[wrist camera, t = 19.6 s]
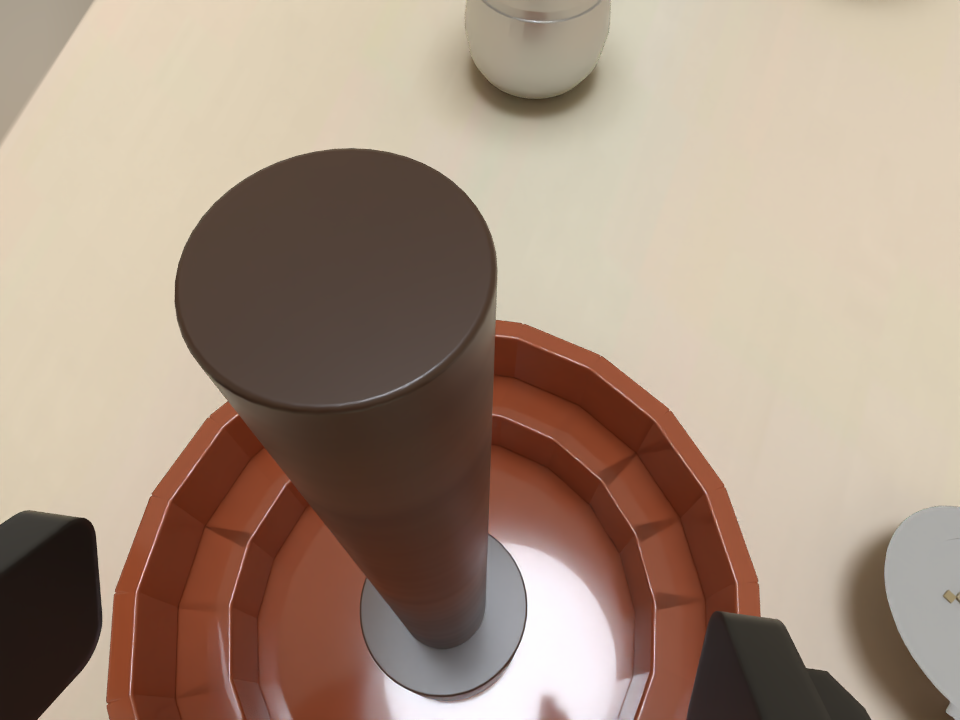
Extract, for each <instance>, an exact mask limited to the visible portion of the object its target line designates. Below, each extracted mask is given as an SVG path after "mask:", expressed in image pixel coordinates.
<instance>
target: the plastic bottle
mask: <svg viewBox="0 0 960 720" xmlns="http://www.w3.org/2000/svg"><path fill="white" fill-rule="evenodd" d="M610 10H611V0H466V9H465V29H466V34H467V39H468V44H469V49H470V53H471V56H472V59H473V62H474V63H475V65H476V66H477V68H478V69H479V71H480V72H481V73H482V74H483V75H484V76H485V78H486V79H487V80H488V81H489V82H490V83H491V84H492V85H494V86H495V87H497V88H498V89H500V90H501V91H503V92H506V93H508V94H510V95H513V96H517V97H521V98H529V99H544V98H550V97H555V96H558V95H561V94H563V93H566V92H567V91H569V90H571V89H573V88H574V87H575V86H576V85H578V84H579V83H580V82H581V81H582V80H583V79H585V78H586V77H587V76H588V75H589V74H590V73H591V72H592V70H593V69H594V68H595V66H596V64H597V62H598V60H599V57H600V54H601V52H602V49H603V47H604V44H605V41H606V39H607V36H608V33H609V26H610Z"/></svg>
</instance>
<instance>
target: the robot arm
mask: <svg viewBox="0 0 960 720" xmlns="http://www.w3.org/2000/svg"><path fill="white" fill-rule="evenodd" d="M101 628H102V606H101V594H100V581H99V569H98V556H97V544H96V534H95V530H94V527H93V525H92V523H91V522H90V521H89V520H87V519H85V518H79V517H72V516H65V515H58V514H51V513H44V512H37V511H30V510H28V511H23V512H20V513H18V514H16V515H14V516H13V517H11V518H10V519H8V520H7V521H5V522H4V523H2V524H1V525H0V720H37V719H38V718H39V717H40V716H41V715H42V714H43V713H44V711H45V710H46V709H47V708H48V707H49V706H50V705H51V704H52V703H53V702H54V700H55V699H56V698H57V697H58V696H59V695H60V694H61V693H62V692H63V691H64V689H65V688H66V687H67V686H68V685H69V684H70V683H71V682H72V681H73V680H74V678H75V677H76V676H77V675H78V674H79V673H80V672H81V671H82V669H83V668H84V667H85V666H86V664H87V663H88V661H89V660H90V658H91V656H92V654H93V652H94V650H95V648H96V645H97V643H98V640H99V636H100V633H101ZM687 720H871V719H870V717H869V715H868V713H867V712H866V710H865V708H864V707H863V706H862V705H861V704H860V703H859V702H858V701H857V700H856V699H855V698H854V697H853V696H852V695H851V694H849V693H848V692H847V691H846V690H845V689H844V688H843V687H842V686H841V685H840V684H839V683H838V682H837V681H836V680H835V679H834V678H833V677H832V676H831V675H830V674H829V673H828V672H827V671H822V670H815V669H808V668H806V667H805V665H804V663H803V661H802V659H801V657H800V655H799V653H798V651H797V649H796V647H795V645H794V643H793V641H792V639H791V637H790V635H789V633H788V631H787V629H786V627H785V626H784V624H783V623H782V622H781V621H780V620H778V619H771V618H764V617H757V616H750V615H743V614H736V613H729V612H722V611H715V612H714V613H713V614H712V615H711V617H710V620H709V622H708V626H707V630H706V634H705V638H704V643H703V647H702V651H701V656H700V660H699V664H698V668H697V673H696V677H695V681H694V686H693V690H692V694H691V699H690V703H689V707H688V712H687Z"/></svg>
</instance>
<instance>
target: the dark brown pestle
mask: <svg viewBox="0 0 960 720" xmlns="http://www.w3.org/2000/svg"><path fill="white" fill-rule="evenodd" d="M496 297H497V258H496V251H495V247H494V243H493V238H492V235H491V233H490V231H489V228H488V226H487V224H486V221H485V220H484V218H483V216H482V215H481V213H480V212H479V210H478V208H477V207H476V205H475V204H474V203H473V202H472V201H471V199H470V198H469V197H468V196H467V195H466V193H465V192H464V191H463V190H462V189H460V188H459V187H458V186H457V185H456V184H455V183H454V182H453V181H451V180H450V179H449V178H447V177H446V176H444V175H443V174H441V173H440V172H438V171H437V170H435V169H433V168H431V167H429V166H427V165H425V164H423V163H421V162H418V161H416V160H413V159H411V158H408V157H405V156H401V155H397V154H394V153H390V152H384V151H378V150H371V149H355V148H349V149H331V150H324V151H316V152H311V153H307V154H303V155H299V156H295V157H292V158H289V159H286V160H283V161H280V162H277V163H275V164H273V165H271V166H268V167H266V168H264V169H262V170H260V171H258V172H256V173H254V174H253V175H251V176H249V177H247V178H246V179H244V180H243V181H241V182H240V183H238V184H237V185H236V186H234V187H233V188H231V189H230V190H229V191H228V192H227V193H225V194H224V195H223V196H222V197H221V198H220V199H219V200H218V201H216V202H215V203H214V204H213V206H212V207H211V208H210V209H209V210H208V211H207V212H206V213H205V215H204V216H203V217H202V218H201V220H200V221H199V223H198V224H197V226H196V227H195V229H194V230H193V231H192V233H191V235H190V237H189V239H188V241H187V243H186V245H185V247H184V250H183V253H182V255H181V258H180V261H179V264H178V269H177V275H176V280H175V309H176V316H177V321H178V324H179V328H180V331H181V334H182V337H183V339H184V341H185V343H186V345H187V347H188V349H189V350H190V352H191V354H192V355H193V357H194V358H195V359H196V361H197V362H198V363H199V365H200V366H201V367H202V369H203V370H204V371H205V372H206V374H207V375H208V376H209V378H210V379H211V380H212V381H213V383H214V384H215V385H216V386H217V388H218V389H219V390H220V392H221V393H222V394H223V395H224V397H225V398H226V399H227V400H228V402H229V403H230V404H231V406H232V407H233V408H234V409H235V411H236V412H237V413H238V414H239V416H240V417H241V418H242V419H243V421H244V422H245V423H246V425H247V426H248V427H249V428H250V430H251V431H252V432H253V433H254V435H255V436H256V437H257V439H258V440H259V441H260V442H261V444H262V445H263V446H264V447H265V449H266V450H267V451H268V453H269V454H270V455H271V456H272V458H273V459H274V460H275V461H276V463H277V464H278V465H279V467H280V468H281V469H282V470H283V472H284V473H285V474H286V475H287V477H288V478H289V479H290V481H291V482H292V483H293V484H294V486H295V487H296V488H297V489H298V491H299V492H300V493H301V495H302V496H303V497H304V498H305V500H306V501H307V502H308V503H309V505H310V506H311V507H312V509H313V510H314V511H315V512H316V514H317V515H318V516H319V517H320V519H321V520H322V521H323V522H324V524H325V525H326V526H327V528H328V529H329V530H330V531H331V533H332V534H333V535H334V536H335V538H336V539H337V540H338V542H339V543H340V544H341V545H342V547H343V548H344V549H345V550H346V552H347V553H348V554H349V556H350V557H351V558H352V559H353V561H354V562H355V563H356V564H357V566H358V567H359V568H360V570H361V571H362V572H363V573H364V575H365V576H366V579H365V582H364V585H363V589H362V593H361V599H360V623H361V629H362V634H363V638H364V641H365V643H366V646H367V649H368V650H369V652H370V654H371V656H372V658H373V660H374V661H375V662H376V664H377V665H378V667H379V668H380V669H381V670H382V671H383V672H384V673H385V674H386V675H387V676H388V677H389V678H390V679H391V680H393V681H394V682H395V683H396V684H398V685H400V686H402V687H403V688H405V689H407V690H409V691H411V692H413V693H416V694H418V695H420V696H423V697H425V698H429V699H434V700H441V701H452V700H460V699H464V698H468V697H471V696H473V695H476V694H478V693H480V692H482V691H483V690H485V689H486V688H488V687H489V686H491V685H492V684H493V683H494V682H495V681H496V680H497V679H499V678H500V677H501V675H502V674H503V673H504V672H505V670H506V669H507V668H508V666H509V664H510V663H511V661H512V659H513V657H514V655H515V653H516V651H517V649H518V647H519V644H520V642H521V640H522V637H523V634H524V630H525V626H526V620H527V607H528V604H527V593H526V588H525V583H524V580H523V577H522V574H521V572H520V570H519V568H518V566H517V564H516V562H515V560H514V559H513V557H512V556H511V554H510V553H509V552H508V550H507V549H506V548H505V547H504V546H503V545H502V544H501V543H500V542H499V541H498V540H497V539H496V538H494V537H493V536H491V535H490V534H489V533H488V523H489V495H490V467H491V438H492V410H493V382H494V354H495V325H496Z"/></svg>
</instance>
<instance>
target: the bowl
mask: <svg viewBox="0 0 960 720" xmlns="http://www.w3.org/2000/svg"><path fill="white" fill-rule="evenodd" d="M488 533H489V534H490V535H491V536H493V537H494V538H496V539H497V540H498V541H499V542H500V543H501V544H502V545H503V546H504V547H505V548H506V549H507V550H508V552H509V553H510V554H511V556H512V557H513V559H514V560H515V562H516V564H517V566H518V568H519V570H520V572H521V574H522V577H523V580H524V583H525V588H526V593H527V604H528V607H527V620H526V626H525V630H524V634H523V637H522V640H521V642H520V644H519V647H518V649H517V651H516V653H515V655H514V657H513V659H512V661H511V663H510V664H509V666H508V668H507V669H506V670H505V672H504V673H503V674H502V675H501V677H500V678H499V679H497V680H496V681H495V682H494V683H493V684H492V685H491V686H489V687H488V688H486V689H485V690H483V691H482V692H480V693H478V694H476V695H473V696H471V697H468V698H464V699H460V700H452V701H441V700H434V699H429V698H425V697H423V696H420V695H418V694H416V693H413V692H411V691H409V690H407V689H405V688H403V687H402V686H400V685H398V684H396V683H395V682H394V681H393V680H391V679H390V678H389V677H388V676H387V675H386V674H385V673H384V672H383V671H382V670H381V669H380V668H379V667H378V665H377V664H376V662H375V661H374V660H373V658H372V656H371V654H370V652H369V650H368V649H367V646H366V643H365V641H364V638H363V634H362V629H361V623H360V599H361V593H362V589H363V585H364V582H365V579H366V576H365V575H364V573H363V572H362V571H361V570H360V568H359V567H358V566H357V564H356V563H355V562H354V561H353V559H352V558H351V557H350V556H349V554H348V553H347V552H346V550H345V549H344V548H343V547H342V545H341V544H340V543H339V542H338V540H337V539H336V538H335V536H334V535H333V534H332V533H331V531H330V530H329V529H328V528H327V526H326V525H325V524H324V522H323V521H322V520H321V519H320V517H319V516H318V515H317V514H316V512H315V511H314V510H313V509H312V507H311V506H310V505H309V503H308V502H307V501H306V500H305V498H304V497H303V496H302V495H301V493H300V492H299V491H298V489H297V488H296V487H295V486H294V484H293V483H292V482H291V481H290V479H289V478H288V477H287V475H286V474H285V473H284V472H283V470H282V469H281V468H280V467H279V465H278V464H277V463H276V461H275V460H274V459H273V458H272V456H271V455H270V454H269V453H268V451H267V450H266V449H265V447H264V446H263V445H262V444H261V442H260V441H259V440H258V439H257V437H256V436H255V435H254V433H253V432H252V431H251V430H250V428H249V427H248V426H247V425H246V423H245V422H244V421H243V419H242V418H241V417H240V416H239V414H238V413H237V412H236V411H235V409H234V408H233V407H232V406H231V404H230V403H229V402H226V403H225V404H224V405H223V406H221V407H220V408H219V409H217V410H216V411H215V412H214V413H212V414H211V415H210V418H207V419H206V420H205V422H204V423H203V424H202V426H201V427H200V429H199V430H198V431H197V433H196V434H195V435H194V437H193V438H192V439H191V441H190V442H189V444H188V445H187V446H186V448H185V449H184V450H183V452H182V453H181V454H180V456H179V457H178V459H177V460H176V461H175V463H174V464H173V465H172V467H171V468H170V469H169V471H168V472H167V474H166V475H165V476H164V478H163V479H162V480H161V482H160V483H159V484H158V486H157V487H156V489H155V490H154V491H153V493H152V496H151V497H150V499H149V502H148V504H147V507H146V510H145V512H144V515H143V517H142V520H141V523H140V525H139V528H138V531H137V533H136V536H135V539H134V541H133V544H132V547H131V549H130V552H129V555H128V557H127V560H126V563H125V565H124V568H123V570H122V573H121V576H120V578H119V581H118V584H117V586H116V589H115V592H116V594H114V601H113V615H112V629H111V642H110V656H109V669H108V683H107V696H106V702H107V703H108V705H107V711H108V715H109V719H110V720H687V712H688V707H689V703H690V699H691V694H692V690H693V686H694V681H695V677H696V673H697V668H698V664H699V660H700V656H701V651H702V647H703V643H704V638H705V634H706V630H707V626H708V622H709V620H710V617H711V615H712V614H713V613H714V612H715V611H722V612H729V613H736V614H743V615H750V616H757V617H761V616H760V594H759V584H758V578H757V575H756V572H755V570H754V567H753V564H752V561H751V558H750V555H749V553H748V550H747V547H746V544H745V541H744V538H743V536H742V533H741V530H740V527H739V524H738V521H737V519H736V516H735V513H734V510H733V507H732V504H731V502H730V499H729V496H728V493H727V490H726V488H725V487H724V484H723V483H722V481H721V480H720V478H719V477H718V476H717V474H716V473H715V471H714V470H713V469H712V467H711V466H710V464H709V463H708V462H707V460H706V459H705V457H704V456H703V455H702V453H701V452H700V451H699V449H698V448H697V446H696V445H695V444H694V442H693V441H692V439H691V438H690V437H689V435H688V434H687V432H686V431H685V430H684V428H683V427H682V425H681V424H680V423H679V421H678V420H677V419H676V417H675V416H674V414H673V413H672V412H671V411H669V408H667V407H666V406H665V405H663V404H662V403H661V402H660V401H658V400H657V399H656V398H655V397H653V396H652V395H651V394H650V393H648V392H647V391H646V390H644V389H643V388H642V387H641V386H639V385H638V384H637V383H636V382H634V381H633V380H632V379H631V378H629V377H628V376H627V375H625V374H624V373H623V372H622V371H620V370H619V369H618V368H617V367H615V366H614V365H613V364H612V363H610V362H609V361H608V360H606V359H605V358H604V357H603V356H601V357H600V355H599V354H596V353H594V352H591V351H589V350H587V349H584V348H582V347H579V346H577V345H575V344H572V343H570V342H567V341H565V340H563V339H560V338H558V337H555V336H553V335H550V334H548V333H546V332H543V331H541V330H538V329H536V328H534V327H531V326H529V325H526V324H522V323H517V322H509V321H501V320H496V325H495V354H494V382H493V410H492V438H491V467H490V495H489V523H488Z"/></svg>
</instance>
